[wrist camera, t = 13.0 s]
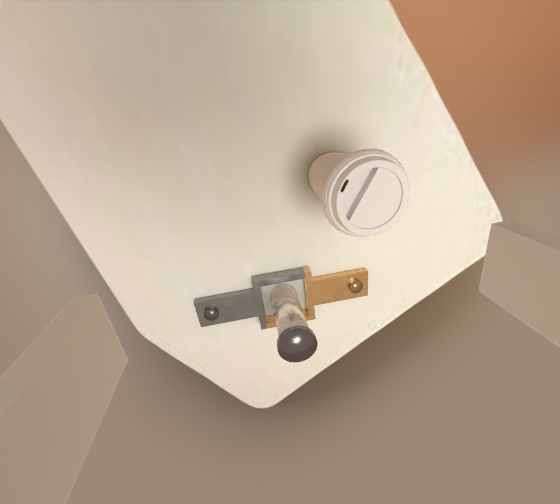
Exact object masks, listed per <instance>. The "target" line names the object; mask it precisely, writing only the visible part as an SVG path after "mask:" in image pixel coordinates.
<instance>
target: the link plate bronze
mask: <svg viewBox="0 0 560 504" xmlns="http://www.w3.org/2000/svg"><path fill="white" fill-rule="evenodd" d="M303 269H304V272H305V277H306V278H304V288H305V298H306V308H307V309H303V310H302V311H303V314H304V316H305V319H306V321H308V320H313V319H315V311H314V305H320V304H325V303H330V302H335V301H341V300H346V299H351V298H356V297H361V296H367V295H368V271H367V270H366V268H361V269H355V270H350V271H345V272H339V273H334V274H328V275H323V276H317V277H312V276H311V271H310V269H309V267H308V266H307V267H303ZM265 318H266V324H267V328H272V327H277V324H276V319H275V315H272V316H267V317H265Z"/></svg>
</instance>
